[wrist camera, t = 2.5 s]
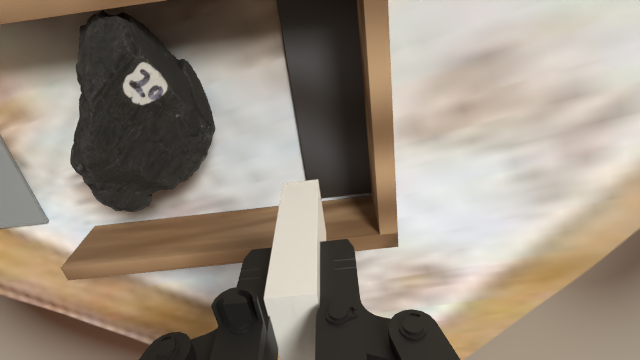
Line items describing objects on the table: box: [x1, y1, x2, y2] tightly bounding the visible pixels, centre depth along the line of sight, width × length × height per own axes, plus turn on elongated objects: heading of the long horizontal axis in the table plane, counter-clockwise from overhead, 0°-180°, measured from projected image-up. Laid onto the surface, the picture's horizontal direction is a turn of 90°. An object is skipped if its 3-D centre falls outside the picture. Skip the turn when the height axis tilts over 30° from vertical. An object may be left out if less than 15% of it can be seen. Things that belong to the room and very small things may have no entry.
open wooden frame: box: [0, 0, 398, 280], centre depth 26 cm, size 18×24×5 cm
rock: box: [70, 11, 215, 212], centre depth 25 cm, size 8×11×10 cm
